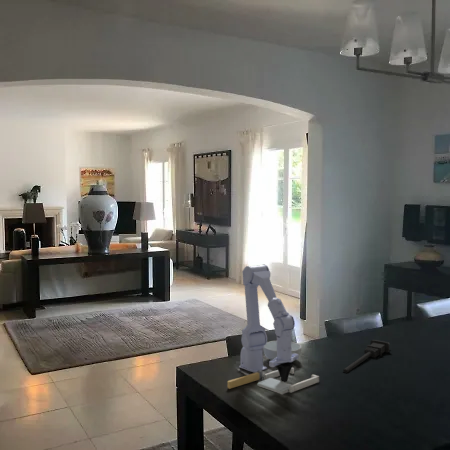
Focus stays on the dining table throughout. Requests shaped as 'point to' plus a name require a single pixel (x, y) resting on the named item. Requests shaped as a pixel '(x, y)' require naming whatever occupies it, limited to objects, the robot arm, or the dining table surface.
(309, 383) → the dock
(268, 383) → the hard drive
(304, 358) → the dining table surface
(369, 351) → the electrical plug
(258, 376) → the bar
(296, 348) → the cereal bowl
